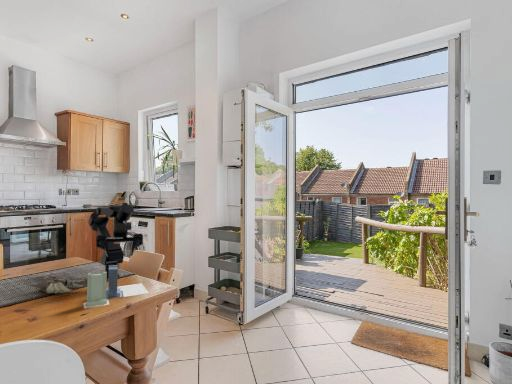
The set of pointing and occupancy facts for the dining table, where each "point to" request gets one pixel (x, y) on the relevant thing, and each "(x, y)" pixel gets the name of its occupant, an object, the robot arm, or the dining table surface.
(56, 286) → the figurine
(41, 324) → the dining table surface
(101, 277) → the pale green upright block
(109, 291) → the blue flanged post
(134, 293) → the card
